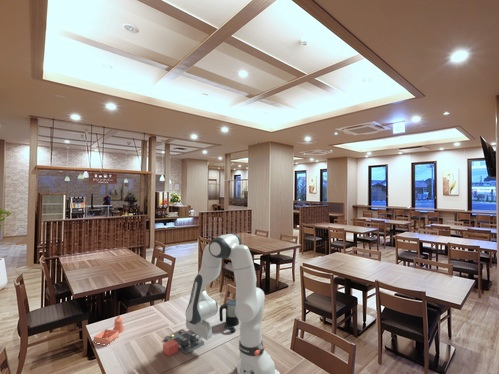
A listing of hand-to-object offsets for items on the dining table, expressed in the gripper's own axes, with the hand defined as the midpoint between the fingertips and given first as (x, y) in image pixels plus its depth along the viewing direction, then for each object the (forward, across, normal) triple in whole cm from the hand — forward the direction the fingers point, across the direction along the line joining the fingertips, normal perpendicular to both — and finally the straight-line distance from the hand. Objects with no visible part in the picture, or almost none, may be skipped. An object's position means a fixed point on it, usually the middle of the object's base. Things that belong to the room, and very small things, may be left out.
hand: (198, 340), depth 151 cm
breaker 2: (+1, +4, 0) cm, 5 cm away
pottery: (+3, +48, +30) cm, 57 cm away
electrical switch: (+3, +8, -13) cm, 15 cm away
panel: (+3, +9, +4) cm, 10 cm away
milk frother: (+3, 0, -28) cm, 29 cm away
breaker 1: (+1, +4, +6) cm, 8 cm away
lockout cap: (+3, +7, +14) cm, 16 cm away
